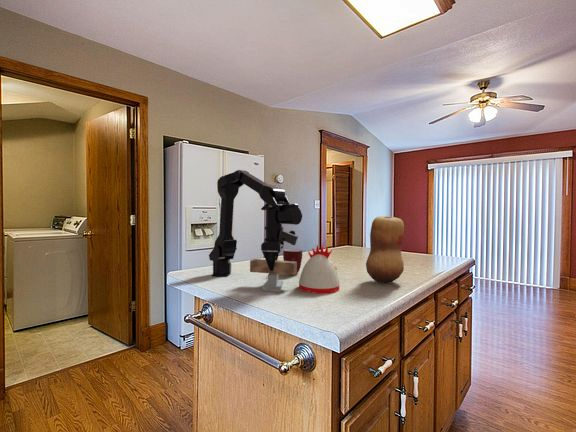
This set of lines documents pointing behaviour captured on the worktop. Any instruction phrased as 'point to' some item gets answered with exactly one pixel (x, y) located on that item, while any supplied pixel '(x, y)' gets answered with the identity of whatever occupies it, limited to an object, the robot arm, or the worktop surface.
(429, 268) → the worktop surface
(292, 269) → the walnut bar
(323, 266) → the kitchen timer
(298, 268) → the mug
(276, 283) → the ridge block
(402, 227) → the butternut squash
